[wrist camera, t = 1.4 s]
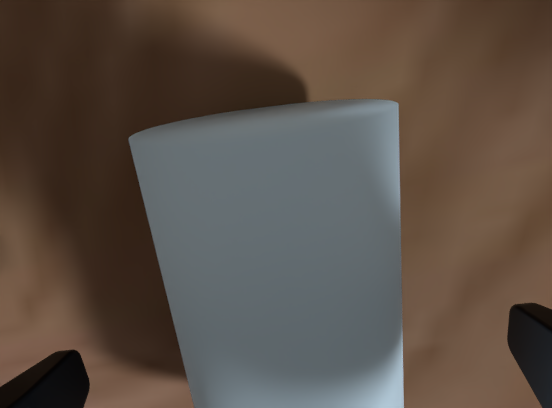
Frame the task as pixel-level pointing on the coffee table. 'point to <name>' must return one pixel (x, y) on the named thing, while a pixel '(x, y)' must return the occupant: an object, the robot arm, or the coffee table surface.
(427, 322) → the coffee table surface
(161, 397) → the coffee table surface
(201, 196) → the roll
